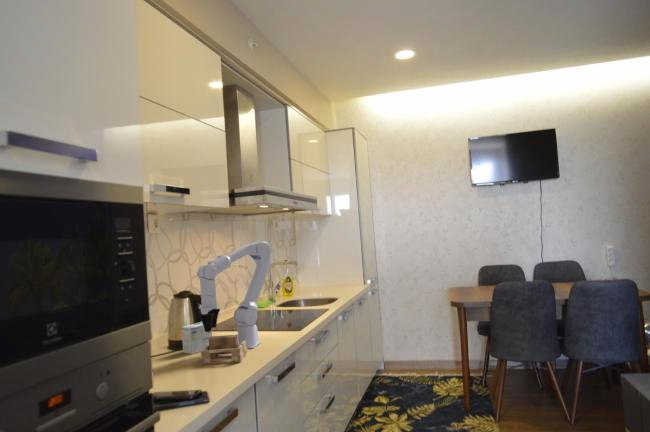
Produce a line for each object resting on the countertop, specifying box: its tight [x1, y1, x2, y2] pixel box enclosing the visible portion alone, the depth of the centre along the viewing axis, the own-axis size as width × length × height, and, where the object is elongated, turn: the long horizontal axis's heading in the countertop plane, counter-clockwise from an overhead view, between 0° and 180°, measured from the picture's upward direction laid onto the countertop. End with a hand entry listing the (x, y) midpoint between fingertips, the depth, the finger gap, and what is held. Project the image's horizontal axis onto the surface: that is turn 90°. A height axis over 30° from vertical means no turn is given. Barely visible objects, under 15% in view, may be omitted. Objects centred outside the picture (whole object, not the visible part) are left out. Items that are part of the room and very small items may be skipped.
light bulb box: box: [180, 321, 213, 355], centre depth 196 cm, size 11×7×11 cm, turn 141°
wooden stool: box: [200, 340, 248, 366], centre depth 178 cm, size 14×14×5 cm
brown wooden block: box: [209, 334, 238, 355], centre depth 178 cm, size 10×4×6 cm, turn 89°
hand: (210, 329), depth 186 cm, fingers open, 7 cm apart
